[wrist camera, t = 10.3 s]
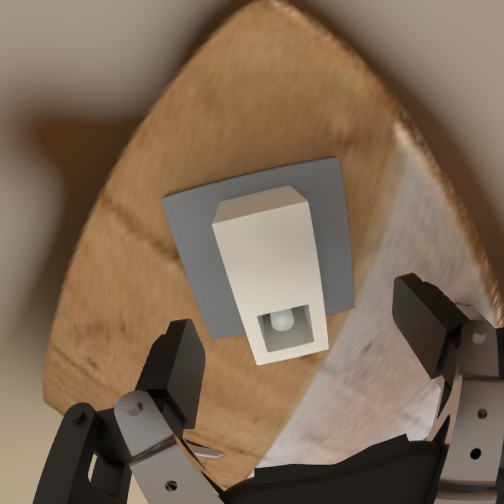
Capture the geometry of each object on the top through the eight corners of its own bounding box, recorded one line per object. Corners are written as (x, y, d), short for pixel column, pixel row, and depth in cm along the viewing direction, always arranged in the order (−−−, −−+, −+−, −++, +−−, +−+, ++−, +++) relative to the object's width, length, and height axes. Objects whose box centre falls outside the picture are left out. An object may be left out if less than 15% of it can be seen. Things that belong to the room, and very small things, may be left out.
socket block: (290, 185, 20) (307, 201, 15) (311, 305, 24) (328, 348, 19) (220, 201, 20) (211, 224, 15) (254, 318, 25) (257, 365, 19)
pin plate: (333, 156, 20) (365, 162, 15) (350, 301, 26) (373, 340, 20) (165, 195, 21) (138, 215, 16) (213, 332, 27) (207, 377, 21)
